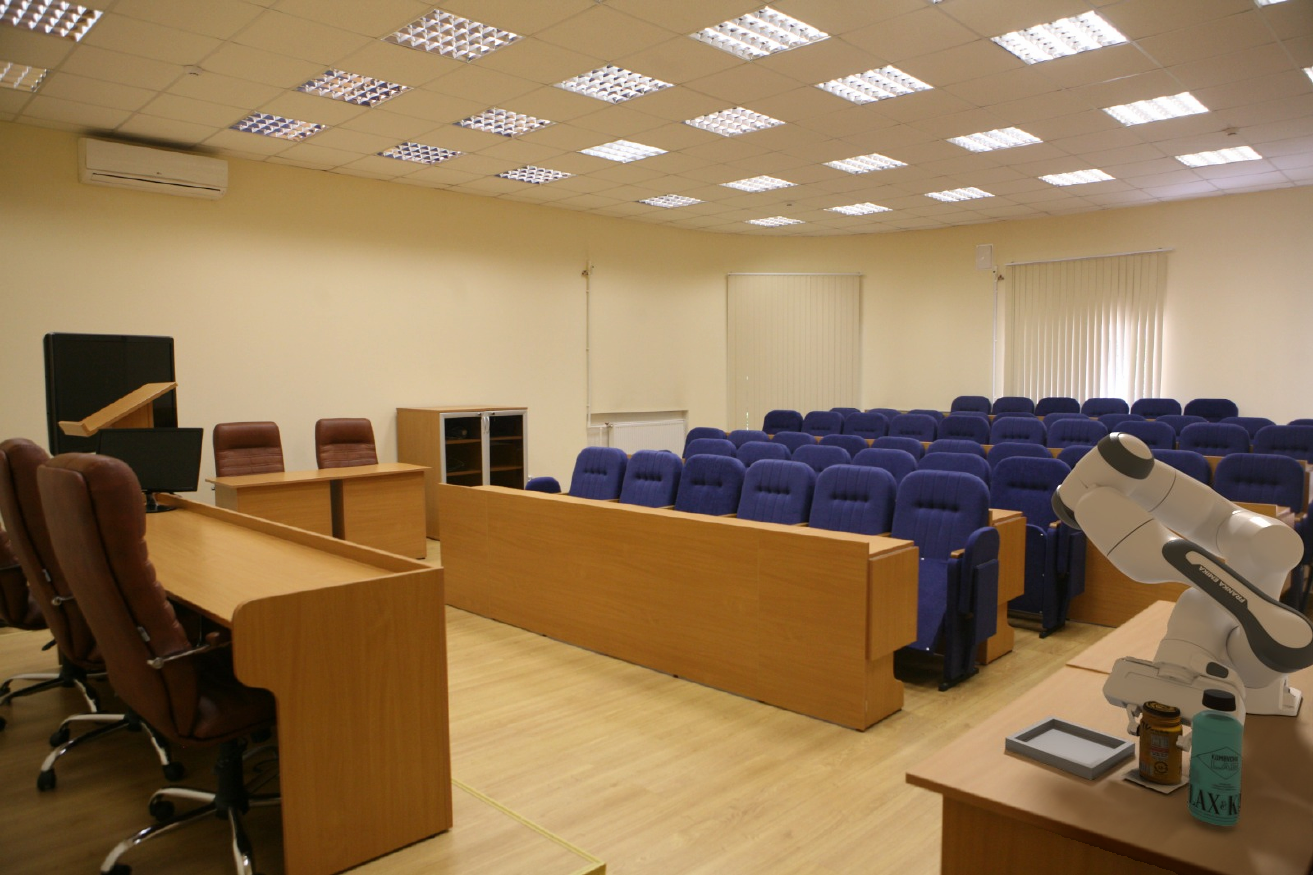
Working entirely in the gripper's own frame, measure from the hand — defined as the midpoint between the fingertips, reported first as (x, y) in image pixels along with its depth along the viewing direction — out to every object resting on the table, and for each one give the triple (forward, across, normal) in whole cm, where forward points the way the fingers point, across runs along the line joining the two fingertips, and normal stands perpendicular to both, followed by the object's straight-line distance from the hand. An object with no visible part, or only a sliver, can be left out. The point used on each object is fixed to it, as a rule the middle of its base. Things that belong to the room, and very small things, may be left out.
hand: (1156, 741), depth 135 cm
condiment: (+4, 0, +5) cm, 7 cm away
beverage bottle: (+10, +11, 0) cm, 15 cm away
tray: (+4, -14, +5) cm, 16 cm away
